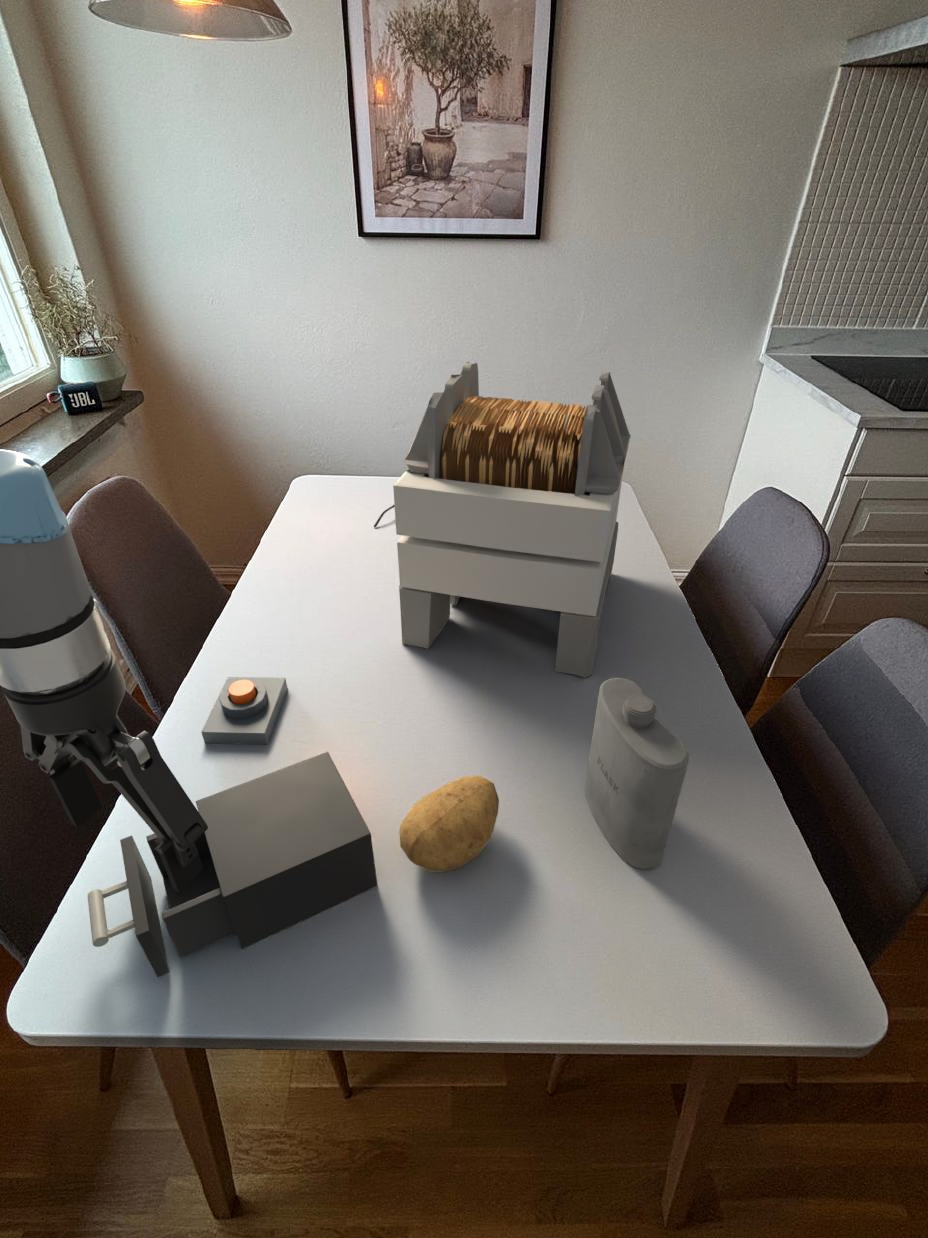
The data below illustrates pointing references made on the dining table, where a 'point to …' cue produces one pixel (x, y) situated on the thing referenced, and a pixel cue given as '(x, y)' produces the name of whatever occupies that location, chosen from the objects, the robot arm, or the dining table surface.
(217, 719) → the control block
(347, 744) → the dining table surface
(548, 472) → the transformer
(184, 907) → the drawer
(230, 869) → the dark grey drawer cabinet
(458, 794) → the potato
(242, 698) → the button
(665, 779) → the flask
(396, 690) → the dining table surface
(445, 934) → the dining table surface
